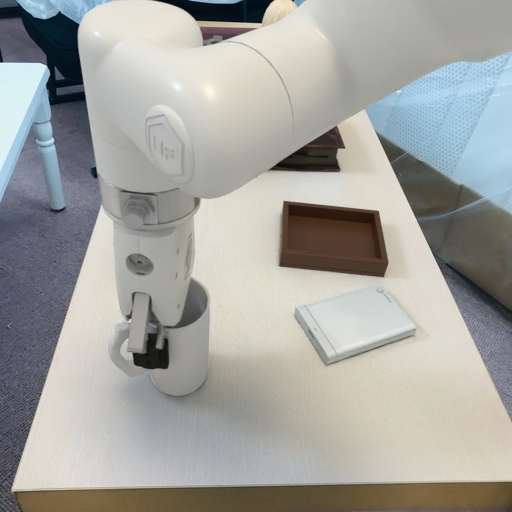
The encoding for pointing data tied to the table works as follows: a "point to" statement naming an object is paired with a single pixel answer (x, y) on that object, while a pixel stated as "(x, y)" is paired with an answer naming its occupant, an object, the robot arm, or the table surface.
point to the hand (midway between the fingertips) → (160, 331)
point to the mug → (175, 346)
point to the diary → (316, 154)
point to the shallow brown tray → (332, 239)
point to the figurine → (278, 11)
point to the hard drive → (353, 322)
